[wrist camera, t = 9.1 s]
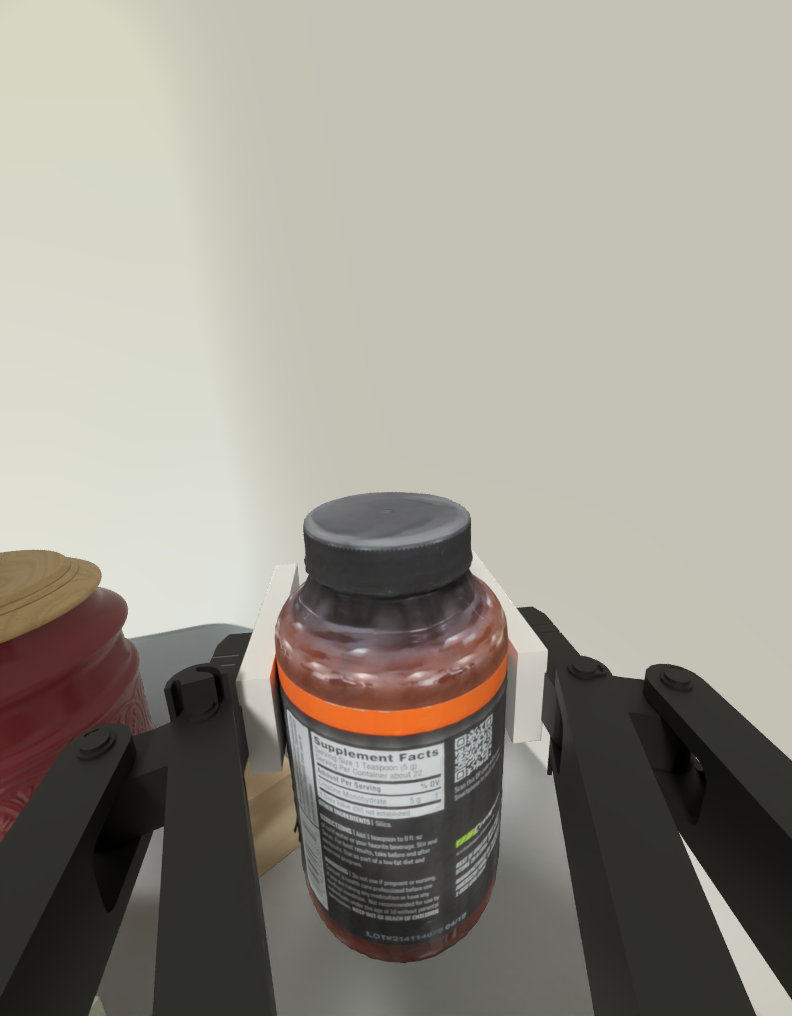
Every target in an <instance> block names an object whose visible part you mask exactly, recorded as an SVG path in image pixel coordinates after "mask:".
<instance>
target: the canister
mask: <svg viewBox="0 0 792 1016" xmlns="http://www.w3.org/2000/svg"><path fill="white" fill-rule="evenodd" d="M100 581H101V571H100V569H99V568H98V567H97V566H96V565H95V564H93V563H91V562H89V561H85V560H81V559H76V558H69V557H65V556H64V555H61V554H60V553H57V552H54V551H47V550H22V551H11V552H3V553H0V843H1V841H2V840H3V838H4V837H5V835H6V834H7V832H8V831H9V829H10V828H11V826H12V825H13V823H14V822H15V820H16V819H17V817H18V816H19V814H20V813H21V811H22V810H23V808H24V807H25V805H26V804H27V802H28V801H29V799H30V798H31V796H32V795H33V793H34V792H35V790H36V789H37V787H38V786H39V784H40V783H41V781H42V780H43V779H44V777H45V776H46V774H47V773H48V771H49V770H50V768H51V767H52V765H53V764H54V762H55V761H56V759H57V758H58V756H59V755H60V753H61V752H62V750H63V749H64V748H65V747H66V746H67V745H68V744H69V743H70V742H71V741H72V740H74V739H75V738H76V737H78V736H79V735H81V734H82V733H84V732H86V731H88V730H90V729H92V728H95V727H97V726H101V725H105V724H109V723H121V724H124V725H126V726H128V727H129V729H130V730H131V732H132V736H135V735H138V734H141V733H144V732H147V731H150V730H153V729H156V727H155V725H154V723H153V722H152V720H151V716H150V712H149V708H148V704H147V700H146V696H145V691H144V687H143V683H142V679H141V675H140V671H139V654H138V651H137V649H136V647H135V646H134V644H133V643H132V642H131V641H129V640H128V639H126V638H125V637H124V634H123V632H122V627H123V625H124V623H125V621H126V618H127V614H128V607H127V603H126V601H125V600H124V599H123V598H122V597H121V596H120V595H119V594H117V593H115V592H113V591H111V590H108V589H105V588H101V587H98V585H99V583H100Z"/></svg>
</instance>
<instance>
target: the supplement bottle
mask: <svg viewBox="0 0 792 1016" xmlns="http://www.w3.org/2000/svg"><path fill="white" fill-rule="evenodd" d="M303 530H304V531H303V532H304V542H305V554H306V556H305V559H304V562H305V565H306V572H307V573H308V574H309V575H308V578H307V580H306V581H305V582H304V583H303V584H302V585H301V586H299V587H298V588H297V589H296V591H295V592H294V593H293V594H292V595H291V596H289V597H288V599H287V601H286V602H285V604H284V605H283V607H282V609H281V611H280V613H279V616H278V619H277V623H276V626H275V637H274V638H275V651H276V658H277V666H278V680H279V683H280V694H281V701H282V714H283V718H284V721H285V734H286V737H287V752H288V757H289V765H290V771H291V779H292V789H293V791H294V803H295V809H296V814H297V816H296V824H295V827H294V832H295V834H296V830H297V827H298V833H299V839H298V841H299V842H300V843H301V855H302V866H303V870H304V872H305V877H306V882H307V885H308V889H309V894H310V896H311V899H312V901H313V903H314V906H315V907H316V909H317V911H318V913H319V915H320V917H321V919H322V920H323V921H324V922H325V924H326V926H327V927H328V928H329V929H330V930H331V931H332V932H333V934H334V935H335V936H336V937H337V938H338V939H339V940H340V941H341V942H342V943H344V944H345V945H347V946H348V947H349V948H351V949H353V950H355V951H357V952H359V953H361V954H364V955H366V956H368V957H370V958H372V959H377V960H382V961H387V962H400V963H407V962H415V961H421V960H424V959H427V958H431V957H434V956H436V955H438V954H440V953H442V952H443V951H445V950H446V949H448V948H449V947H451V946H453V945H455V944H456V943H457V942H458V941H459V940H461V939H462V938H463V937H465V936H466V935H467V934H468V932H469V931H470V930H471V928H472V927H473V926H474V925H475V924H476V923H477V921H478V920H479V918H480V916H481V914H482V912H483V911H484V909H485V907H486V905H487V903H488V901H489V899H490V896H491V892H492V889H493V886H494V883H495V878H496V870H497V863H498V857H499V836H500V820H501V798H502V774H503V756H504V735H505V712H506V691H507V682H508V680H507V674H508V671H507V664H508V642H509V640H508V628H507V620H506V615H505V612H504V610H503V608H502V606H501V604H500V601H499V600H498V598H497V597H496V595H495V594H494V592H493V591H492V590H491V589H490V587H489V586H488V585H487V584H486V583H485V582H484V581H483V580H481V579H479V578H478V577H476V576H475V575H473V574H472V573H471V571H470V569H469V568H470V566H471V562H472V560H473V556H472V551H471V518H470V514H469V512H468V511H467V510H466V509H465V508H464V507H463V506H461V505H460V504H458V503H456V502H453V501H451V500H449V499H447V498H443V497H439V496H435V495H430V494H419V493H403V492H384V493H367V494H360V495H353V496H348V497H344V498H340V499H337V500H333V501H330V502H327V503H324V504H322V505H320V506H318V507H317V508H315V509H314V510H313V511H311V512H310V513H309V514H308V515H307V516H306V518H305V520H304V526H303Z"/></svg>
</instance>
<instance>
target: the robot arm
mask: <svg viewBox="0 0 792 1016" xmlns="http://www.w3.org/2000/svg"><path fill="white" fill-rule="evenodd" d="M471 551H472V556H473V560H472V562H471V566H470V568H469V569H470V571H471V573H472V574H473V575H475V576H476V577H478V578H479V579H481V580H483V581H484V582H485V583H486V584H487V585H488V586H489V587H490V589H491V590H492V591H493V592H494V594H495V595H496V597H497V598H498V600H499V601H500V604H501V606H502V608H503V610H504V612H505V615H506V620H507V628H508V640H509V642H508V664H507V671H508V674H507V680H508V682H507V691H506V712H505V727H506V729H507V731H508V734H509V736H510V738H511V740H512V742H513V744H514V743H523V742H531V741H539V740H541V734H542V722H543V723H544V725H545V727H546V729H547V730H548V732H549V734H550V746H549V758H548V770H547V775H552V771H553V777H554V782H555V788H556V794H557V800H558V806H559V811H560V817H561V823H562V829H563V835H564V840H565V846H566V852H567V858H568V863H569V869H570V875H571V881H572V887H573V892H574V898H575V904H576V910H577V916H578V921H579V927H580V933H581V939H582V945H583V950H584V956H585V962H586V968H587V974H588V979H589V985H590V991H591V997H592V1003H593V1008H594V1014H595V1016H756V1014H755V1012H754V1009H753V1007H752V1004H751V1002H750V1000H749V997H748V995H747V993H746V990H745V988H744V986H743V983H742V981H741V978H740V976H739V974H738V971H737V969H736V967H735V964H734V962H733V959H732V957H731V955H730V953H729V950H728V948H727V945H726V943H725V941H724V938H723V936H722V933H721V931H720V929H719V926H718V924H717V922H716V919H715V917H714V915H713V912H712V910H711V908H710V905H709V903H708V900H707V898H706V896H705V893H704V891H703V889H702V886H701V884H700V882H699V879H698V877H697V875H696V872H695V870H694V867H693V865H692V863H691V860H690V858H689V855H688V853H687V851H686V848H685V846H684V844H683V841H682V839H681V837H680V834H681V836H682V837H683V839H684V840H685V842H686V843H687V845H688V846H689V848H690V849H691V851H692V852H693V854H694V855H695V857H696V858H697V860H698V861H699V863H700V864H701V866H702V867H703V869H704V870H705V872H706V873H707V875H708V876H709V878H710V879H711V881H712V882H713V883H714V885H715V886H716V888H717V889H718V891H719V892H720V894H721V895H722V897H723V898H724V900H725V901H726V903H727V904H728V906H729V907H730V909H731V910H732V912H733V913H734V915H735V916H736V918H737V919H738V921H739V922H740V923H741V925H742V927H743V928H744V930H745V931H746V932H747V934H748V935H749V937H750V938H751V940H752V941H753V943H754V944H755V946H756V947H757V949H758V950H759V952H760V953H761V955H762V956H763V958H764V959H765V961H766V962H767V964H768V965H769V967H770V968H771V970H772V971H773V973H774V974H775V975H776V977H777V979H778V980H779V981H780V983H781V984H782V986H783V987H784V989H785V990H786V992H787V993H788V995H789V996H790V998H791V999H792V761H791V760H790V759H789V758H788V757H787V756H786V755H785V754H784V753H783V752H782V751H780V750H779V749H778V748H777V747H776V746H775V745H774V744H773V743H772V742H771V741H770V740H769V739H768V738H766V737H765V736H764V735H763V734H762V733H761V732H760V731H759V730H758V729H756V728H755V727H754V726H753V725H752V724H751V723H750V722H749V721H748V720H746V718H744V716H742V715H741V714H740V713H739V712H738V711H737V710H736V709H735V708H734V707H733V706H732V705H730V704H729V703H728V702H727V701H726V700H725V699H724V698H723V697H722V696H721V695H720V694H718V693H717V692H716V691H715V690H714V689H713V688H712V687H711V686H710V685H709V684H708V683H706V682H705V681H704V680H703V679H702V678H701V677H699V676H698V675H696V674H695V673H693V672H691V671H689V670H687V669H684V668H682V667H679V666H675V665H671V664H656V665H652V666H650V667H649V668H648V669H646V674H645V680H641V679H632V678H624V677H617V676H612V673H611V672H610V671H609V669H608V668H607V667H606V666H605V665H603V664H602V663H601V662H599V661H597V660H595V659H592V658H590V657H586V656H580V655H579V653H578V652H577V651H576V650H575V649H574V647H573V646H572V645H571V644H570V643H569V642H568V640H567V639H566V638H565V637H564V636H563V635H562V633H560V632H559V630H558V629H557V627H556V626H555V625H553V623H552V622H551V620H550V619H549V618H548V617H547V616H546V615H545V614H544V613H542V612H541V611H539V610H537V609H536V608H534V607H523V608H516V607H515V606H514V604H513V603H512V602H511V600H510V599H509V598H508V596H507V595H506V594H505V592H504V591H503V590H502V588H501V587H500V585H499V584H498V583H497V581H496V580H495V579H494V577H493V576H492V575H491V573H490V572H489V571H488V569H487V568H486V567H485V566H484V564H483V563H482V561H481V560H480V559H479V557H478V556H477V555H476V553H475V552H474V551H473V550H471ZM298 587H299V577H298V567H297V563H295V564H281V565H276V567H275V570H274V573H273V575H272V578H271V581H270V584H269V587H268V590H267V593H266V596H265V598H264V602H263V604H262V607H261V610H260V613H259V616H258V619H257V622H256V625H255V627H254V630H253V633H242V634H230V635H228V636H227V637H226V638H225V639H224V640H223V641H222V642H221V643H220V644H218V646H217V648H216V650H215V652H214V654H213V658H212V659H211V661H210V663H205V664H198V665H194V666H191V667H189V668H186V669H184V670H182V671H180V672H179V673H177V674H175V675H174V676H173V677H172V678H171V679H170V680H169V681H168V682H167V684H166V686H165V689H164V692H165V696H166V701H167V706H168V710H169V715H170V719H171V722H169V723H168V724H166V725H164V726H161V727H159V728H156V729H153V730H150V731H147V732H144V733H141V734H138V735H135V736H132V732H131V730H130V729H129V727H128V726H126V725H124V724H121V723H109V724H105V725H101V726H97V727H95V728H92V729H90V730H88V731H86V732H84V733H82V734H81V735H79V736H78V737H76V738H75V739H74V740H72V741H71V742H70V743H69V744H68V745H67V746H66V747H65V748H64V749H63V750H62V752H61V753H60V755H59V756H58V758H57V759H56V761H55V762H54V764H53V765H52V767H51V768H50V770H49V771H48V773H47V774H46V776H45V777H44V779H43V780H42V781H41V783H40V784H39V786H38V787H37V789H36V790H35V792H34V793H33V795H32V796H31V798H30V799H29V801H28V802H27V804H26V805H25V807H24V808H23V810H22V811H21V813H20V814H19V816H18V817H17V819H16V820H15V822H14V823H13V825H12V826H11V828H10V829H9V831H8V832H7V834H6V835H5V837H4V838H3V840H2V841H1V843H0V1016H88V1015H89V1013H90V1010H91V1007H92V1004H93V1001H94V998H95V996H96V993H97V990H98V987H99V984H100V981H101V979H102V976H103V973H104V970H105V967H106V964H107V961H108V959H109V956H110V953H111V950H112V947H113V944H114V942H115V939H116V936H117V933H118V930H119V927H120V925H121V922H122V919H123V916H124V913H125V910H126V908H127V905H128V902H129V899H130V896H131V893H132V890H133V888H134V885H135V882H136V879H137V876H138V873H139V871H140V868H141V865H142V862H143V859H144V856H145V854H146V851H147V848H148V845H149V842H150V839H151V837H152V834H153V830H156V829H158V828H161V827H163V826H164V839H163V855H162V872H161V888H160V904H159V921H158V937H157V954H156V970H155V987H154V1003H153V1016H277V1013H276V1005H275V998H274V990H273V983H272V975H271V968H270V961H269V953H268V946H267V938H266V931H265V923H264V916H263V909H262V901H261V894H260V886H259V879H258V871H257V864H256V857H255V849H254V842H253V834H252V827H251V819H250V812H249V805H248V797H247V790H246V783H245V777H244V773H245V769H246V765H247V761H248V762H249V768H250V775H257V774H265V773H273V772H282V768H283V762H284V755H285V749H286V742H287V737H286V734H285V721H284V718H283V714H282V701H281V694H280V683H279V680H278V666H277V658H276V651H275V638H274V637H275V626H276V623H277V619H278V616H279V613H280V611H281V609H282V607H283V605H284V604H285V602H286V601H287V599H288V597H289V596H291V595H292V594H293V593H294V592H295V591H296V589H297V588H298ZM696 758H697V759H698V760H697V759H696ZM678 831H679V832H678ZM679 833H680V834H679Z"/></svg>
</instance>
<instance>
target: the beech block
mask: <svg viewBox="0 0 792 1016" xmlns="http://www.w3.org/2000/svg"><path fill="white" fill-rule="evenodd" d="M244 777H245V783H246V790H247V797H248V805H249V812H250V819H251V827H252V834H253V842H254V849H255V857H256V864H257V871H258V878H260V877H261V876H262V875H263V874H265V873H266V872H267V871H268V870H270V869H271V868H272V867H274V866H275V865H276V864H277V863H279V862H280V861H281V860H282V859H284V858H285V857H286V856H288V855H289V854H290V853H291V852H293V851H294V850H295V849H296V848H298V847H299V846H300V845H301V843H300V842H299V841H298V839H299V833H298V827H297V830H296V834H295V832H294V827H295V824H296V816H297V814H296V809H295V803H294V791H293V789H292V779H291V771H290V765H289V759H288V758H287V757H286V756H285V755H284V762H283V768H282V772H273V773H265V774H257V775H250V768H249V762H248V761H247V765H246V769H245V773H244Z"/></svg>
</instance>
